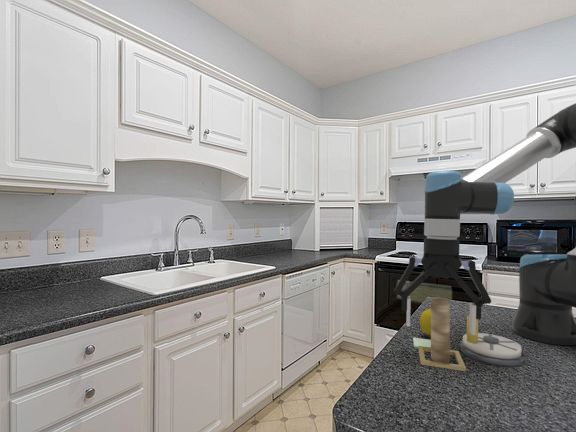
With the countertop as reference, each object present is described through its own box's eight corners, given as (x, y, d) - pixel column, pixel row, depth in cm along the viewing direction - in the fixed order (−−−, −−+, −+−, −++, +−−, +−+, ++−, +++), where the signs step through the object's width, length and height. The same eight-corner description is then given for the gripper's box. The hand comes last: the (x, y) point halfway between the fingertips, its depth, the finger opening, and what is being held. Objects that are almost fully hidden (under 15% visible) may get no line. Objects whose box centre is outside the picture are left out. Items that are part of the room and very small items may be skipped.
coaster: (437, 342, 84) (437, 340, 84) (440, 351, 78) (440, 349, 78) (413, 339, 86) (413, 337, 86) (414, 347, 80) (414, 346, 80)
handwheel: (499, 338, 83) (499, 310, 83) (534, 359, 71) (534, 326, 71) (453, 338, 83) (453, 309, 83) (480, 358, 71) (480, 325, 71)
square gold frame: (458, 354, 77) (458, 351, 77) (466, 371, 68) (466, 367, 68) (418, 348, 80) (418, 345, 80) (420, 364, 71) (420, 361, 71)
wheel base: (513, 347, 81) (513, 342, 81) (533, 370, 69) (533, 365, 69) (456, 340, 85) (456, 336, 85) (466, 361, 73) (466, 356, 73)
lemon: (423, 332, 91) (423, 304, 91) (443, 336, 88) (444, 308, 88) (416, 337, 87) (417, 308, 87) (438, 342, 84) (438, 312, 84)
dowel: (448, 356, 75) (448, 297, 75) (451, 364, 71) (451, 302, 72) (430, 354, 76) (430, 296, 77) (431, 361, 73) (431, 300, 73)
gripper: (498, 239, 73) (496, 330, 73) (386, 234, 82) (384, 317, 82) (509, 241, 66) (506, 342, 66) (385, 236, 75) (382, 326, 75)
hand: (439, 328), depth 74 cm, fingers open, 13 cm apart
